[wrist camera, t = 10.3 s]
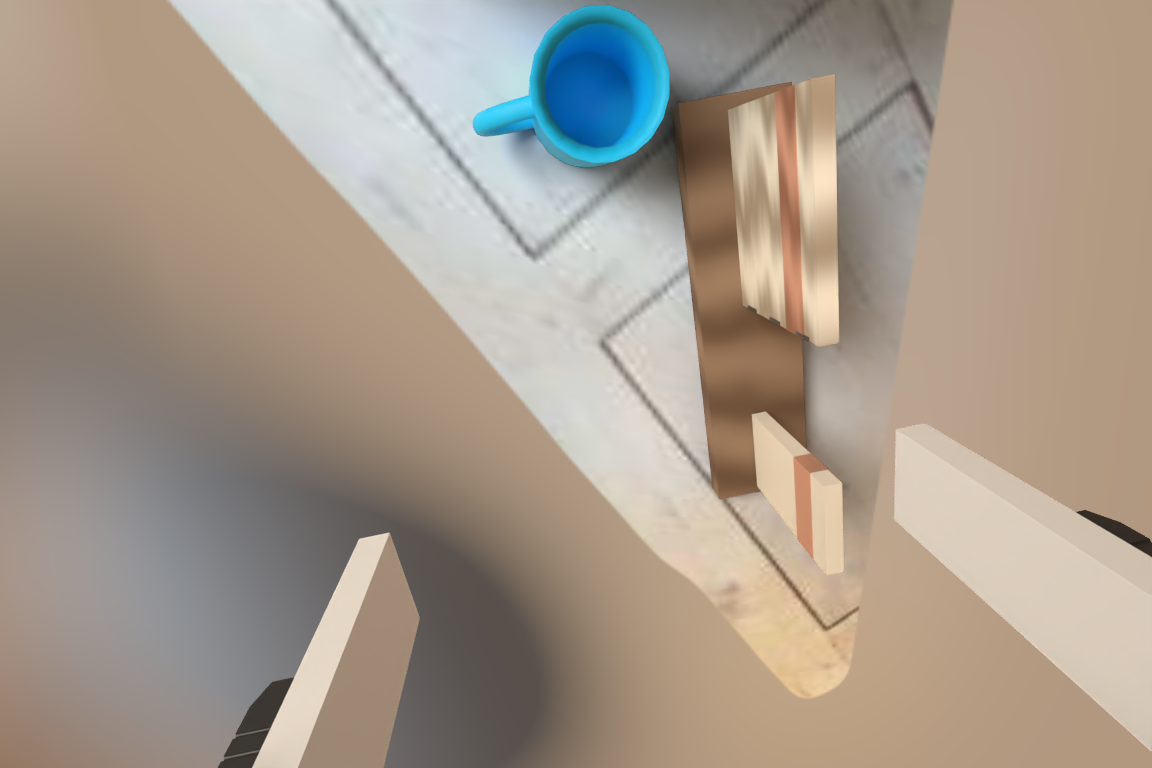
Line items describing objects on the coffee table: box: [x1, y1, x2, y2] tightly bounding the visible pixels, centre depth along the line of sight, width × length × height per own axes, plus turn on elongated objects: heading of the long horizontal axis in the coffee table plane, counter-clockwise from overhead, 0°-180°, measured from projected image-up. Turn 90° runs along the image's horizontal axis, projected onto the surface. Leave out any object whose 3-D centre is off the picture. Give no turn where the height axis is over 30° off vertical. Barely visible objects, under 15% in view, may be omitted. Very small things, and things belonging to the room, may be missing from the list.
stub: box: [752, 411, 844, 575], centre depth 42 cm, size 7×1×12 cm, turn 10°
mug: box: [473, 5, 670, 168], centre depth 36 cm, size 12×8×8 cm
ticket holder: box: [671, 74, 839, 499], centre depth 39 cm, size 32×8×14 cm, turn 10°
